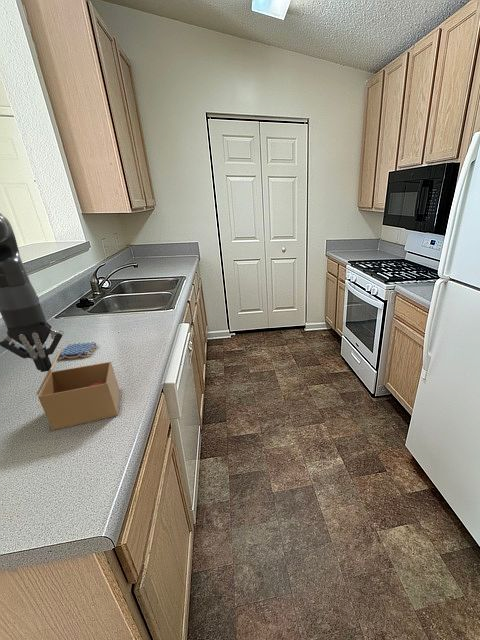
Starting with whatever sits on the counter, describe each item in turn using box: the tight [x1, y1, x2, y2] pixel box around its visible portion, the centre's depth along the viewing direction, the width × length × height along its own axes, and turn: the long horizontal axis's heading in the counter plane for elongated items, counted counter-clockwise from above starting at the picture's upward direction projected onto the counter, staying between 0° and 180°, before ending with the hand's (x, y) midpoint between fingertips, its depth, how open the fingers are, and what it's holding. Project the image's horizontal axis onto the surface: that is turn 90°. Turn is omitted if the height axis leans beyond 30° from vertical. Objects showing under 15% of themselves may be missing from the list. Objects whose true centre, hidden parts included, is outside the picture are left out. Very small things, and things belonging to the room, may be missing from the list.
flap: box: [36, 347, 63, 396], centre depth 84 cm, size 7×14×1 cm
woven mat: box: [58, 341, 98, 360], centre depth 125 cm, size 10×11×2 cm
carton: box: [37, 361, 121, 431], centre depth 90 cm, size 15×14×10 cm
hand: (45, 370), depth 84 cm, fingers closed
